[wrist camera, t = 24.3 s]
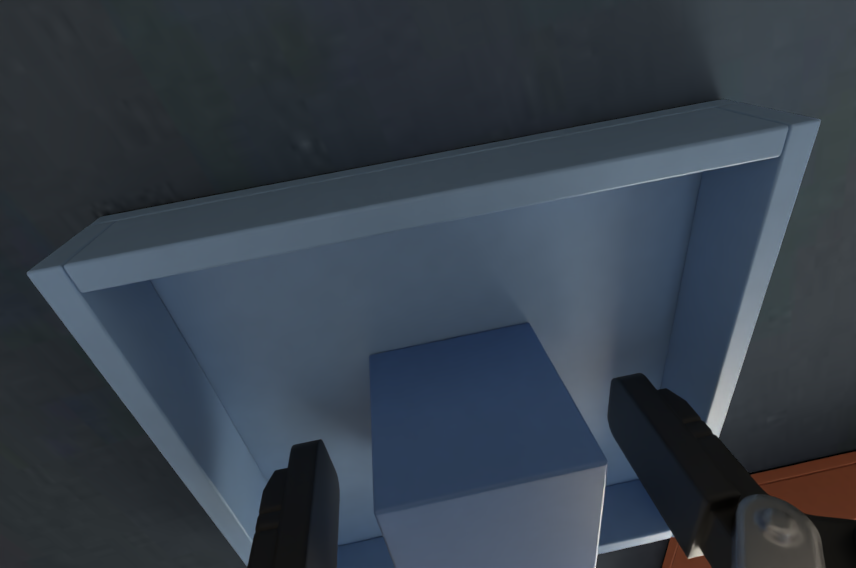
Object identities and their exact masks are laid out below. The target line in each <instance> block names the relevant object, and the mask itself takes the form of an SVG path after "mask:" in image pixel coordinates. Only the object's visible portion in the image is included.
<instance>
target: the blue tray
mask: <svg viewBox="0 0 856 568" xmlns="http://www.w3.org/2000/svg"><path fill="white" fill-rule="evenodd" d="M820 123H821V120H820V119H818V118H813V117H808V116H803V115H799V114H794V113H789V112H784V111H780V110H775V109H770V108H765V107H761V106H756V105H751V104H746V103H741V102H736V101H731V100H727V99H720V100H715V101H709V102H704V103H699V104H694V105H688V106H683V107H678V108H672V109H667V110H662V111H657V112H651V113H646V114H641V115H635V116H630V117H625V118H620V119H614V120H609V121H604V122H598V123H593V124H588V125H583V126H577V127H572V128H567V129H562V130H556V131H551V132H546V133H540V134H535V135H530V136H525V137H519V138H514V139H509V140H503V141H498V142H493V143H488V144H482V145H477V146H472V147H466V148H461V149H456V150H451V151H445V152H440V153H435V154H429V155H424V156H419V157H414V158H408V159H403V160H398V161H393V162H387V163H382V164H377V165H371V166H366V167H361V168H356V169H350V170H345V171H340V172H334V173H329V174H324V175H319V176H313V177H308V178H303V179H297V180H292V181H287V182H282V183H276V184H271V185H266V186H260V187H255V188H250V189H245V190H239V191H234V192H229V193H224V194H218V195H213V196H208V197H202V198H197V199H192V200H187V201H181V202H176V203H171V204H165V205H160V206H155V207H150V208H144V209H139V210H134V211H128V212H123V213H118V214H113V215H107V216H102V217H100V218H98V219H97V220H96V221H94V222H93V223H92V224H90V226H87V227H86V228H85V229H83V230H82V231H81V232H79V233H78V234H77V235H75V236H74V237H73V238H71V239H70V240H69V241H67V242H66V243H65V244H64V245H62V246H61V247H60V248H58V249H57V250H56V251H54V252H53V253H52V254H50V255H49V256H48V257H46V258H45V259H44V260H42V261H41V262H40V263H38V264H37V265H36V266H34V267H33V268H32V269H30V270H29V271H28V272H27V276H28V277H29V278H30V280H31V281H32V282H33V284H34V285H35V286H36V288H37V289H38V290H39V292H40V293H41V294H42V296H43V297H44V298H45V299H46V301H47V302H48V303H49V305H50V306H51V307H52V309H53V310H54V311H55V313H56V314H57V315H58V317H59V318H60V319H61V321H62V322H63V323H64V325H65V326H66V327H67V329H68V330H69V331H70V333H71V334H72V335H73V337H74V338H75V339H76V341H77V342H78V343H79V345H80V346H81V347H82V349H83V350H84V351H85V352H86V354H87V355H88V356H89V358H90V359H91V360H92V362H93V363H94V364H95V366H96V367H97V368H98V370H99V371H100V372H101V374H102V375H103V376H104V378H105V379H106V380H107V382H108V383H109V384H110V386H111V387H112V388H113V390H114V391H115V392H116V394H117V395H118V396H119V398H120V399H121V400H122V402H123V403H124V404H125V405H126V407H127V408H128V409H129V411H130V412H131V413H132V415H133V416H134V417H135V419H136V420H137V421H138V423H139V424H140V425H141V427H142V428H143V429H144V431H145V432H146V433H147V435H148V436H149V437H150V439H151V440H152V441H153V443H154V444H155V445H156V447H157V448H158V449H159V451H160V452H161V453H162V455H163V456H164V457H165V458H166V460H167V461H168V462H169V464H170V465H171V466H172V468H173V469H174V470H175V472H176V473H177V474H178V476H179V477H180V478H181V480H182V481H183V482H184V484H185V485H186V486H187V488H188V489H189V490H190V492H191V493H192V494H193V496H194V497H195V498H196V500H197V501H198V502H199V504H200V505H201V506H202V507H203V509H204V510H205V511H206V513H207V514H208V515H209V517H210V518H211V519H212V521H213V522H214V523H215V525H216V526H217V527H218V529H219V530H220V531H221V533H222V534H223V535H224V537H225V538H226V539H227V541H228V542H229V543H230V545H231V546H232V547H233V549H234V550H235V551H236V553H237V554H238V555H239V557H240V558H241V559H242V560H243V562H244V563H245V564H246V566H248V561H249V557H250V552H251V547H252V542H253V537H254V534H255V532H256V531H255V527H256V522H257V518H258V516H259V508H260V503H261V498H262V493H263V490H264V488H265V486H266V485H267V483H268V481H269V479H270V478H271V476H272V474H273V473H274V471H275V470H279V469H284V468H288V462H289V456H290V451H291V448H292V446H293V445H295V444H300V443H305V442H309V441H314V440H319V439H321V440H322V441H323V442H324V444H325V447H326V449H327V451H328V454H329V456H330V458H331V461H332V463H333V465H334V468H335V470H336V473H337V476H338V481H339V488H340V504H339V528H338V553H337V568H395V567H394V564H393V562H392V559H391V556H390V554H389V551H388V549H387V546H386V543H385V541H384V538H383V536H382V533H381V530H380V528H379V525H378V523H377V520H376V517H375V515H374V508H373V475H372V442H371V409H370V376H369V356H370V355H372V354H377V353H382V352H387V351H392V350H397V349H401V348H406V347H411V346H416V345H421V344H426V343H431V342H435V341H440V340H445V339H450V338H455V337H460V336H465V335H469V334H474V333H479V332H484V331H489V330H494V329H499V328H503V327H508V326H513V325H518V324H523V323H530V325H531V326H532V328H533V330H534V332H535V333H536V335H537V337H538V339H539V340H540V342H541V344H542V346H543V348H544V349H545V351H546V353H547V355H548V356H549V358H550V360H551V362H552V363H553V365H554V367H555V369H556V370H557V372H558V374H559V376H560V377H561V379H562V381H563V383H564V385H565V386H566V388H567V390H568V392H569V393H570V395H571V397H572V399H573V400H574V402H575V404H576V406H577V407H578V409H579V411H580V413H581V414H582V416H583V418H584V420H585V422H586V423H587V425H588V427H589V429H590V430H591V432H592V434H593V436H594V437H595V439H596V441H597V443H598V444H599V446H600V448H601V450H602V451H603V453H604V455H605V457H606V459H607V460H608V470H607V479H606V487H605V495H604V504H603V512H602V520H601V529H600V537H599V545H598V554H602V553H607V552H611V551H616V550H620V549H624V548H629V547H633V546H637V545H642V544H646V543H651V542H655V541H659V540H664V539H668V538H671V537H674V535H673V534H672V532H671V530H670V529H669V527H668V526H667V524H666V522H665V521H664V519H663V517H662V516H661V514H660V512H659V511H658V509H657V508H656V506H655V504H654V503H653V501H652V499H651V498H650V496H649V494H648V493H647V491H646V490H645V488H644V486H643V485H642V483H641V481H640V480H639V478H638V476H637V475H636V473H635V472H634V470H633V468H632V467H631V465H630V463H629V462H628V460H627V458H626V457H625V455H624V454H623V452H622V450H621V449H620V447H619V445H618V444H617V442H616V440H615V439H614V437H613V435H612V433H611V430H610V428H609V424H608V419H607V413H608V403H609V394H610V385H611V380H612V379H613V378H617V377H621V376H626V375H631V374H636V373H642V374H644V375H645V376H646V377H647V378H648V379H649V381H650V382H651V383H652V384H653V386H654V387H655V388H656V389H657V390H659V389H664V388H667V389H669V390H670V391H672V392H673V393H675V394H676V395H678V396H680V397H681V398H683V399H684V400H686V401H687V402H688V403H689V405H690V406H691V407H692V408H693V409H694V410H695V412H696V413H697V414H698V415H699V416H700V419H701V420H702V421H704V422H705V423H706V424H707V426H708V427H709V428H710V429H711V430H712V433H713V434H714V435H716V436H717V437H718V438H719V435H720V432H721V429H722V426H723V423H724V420H725V417H726V414H727V411H728V408H729V405H730V401H731V398H732V395H733V392H734V389H735V386H736V383H737V380H738V377H739V374H740V370H741V367H742V364H743V361H744V358H745V355H746V352H747V349H748V346H749V343H750V339H751V336H752V333H753V330H754V327H755V324H756V321H757V318H758V315H759V312H760V309H761V305H762V302H763V299H764V296H765V293H766V290H767V287H768V284H769V281H770V278H771V274H772V271H773V268H774V265H775V262H776V259H777V256H778V253H779V250H780V247H781V243H782V240H783V237H784V234H785V231H786V228H787V225H788V222H789V219H790V216H791V212H792V209H793V206H794V203H795V200H796V197H797V194H798V191H799V188H800V185H801V182H802V178H803V175H804V172H805V169H806V166H807V163H808V160H809V157H810V154H811V151H812V147H813V144H814V141H815V138H816V135H817V132H818V129H819V126H820ZM598 554H597V555H598Z"/></svg>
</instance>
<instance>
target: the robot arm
mask: <svg viewBox="0 0 856 568" xmlns="http://www.w3.org/2000/svg"><path fill="white" fill-rule="evenodd" d="M607 419H608V424H609V428H610V430H611V433H612V435H613V437H614V439H615V440H616V442H617V444H618V445H619V447H620V449H621V450H622V452H623V454H624V455H625V457H626V458H627V460H628V462H629V463H630V465H631V467H632V468H633V470H634V472H635V473H636V475H637V476H638V478H639V480H640V481H641V483H642V485H643V486H644V488H645V490H646V491H647V493H648V494H649V496H650V498H651V499H652V501H653V503H654V504H655V506H656V508H657V509H658V511H659V512H660V514H661V516H662V517H663V519H664V521H665V522H666V524H667V526H668V527H669V529H670V530H671V532H672V534H673V535H674V537H675V539H676V540H677V542H678V544H679V545H680V547H681V548H682V550H683V552H684V553H685V555H686V557H687V558H688V559H690V558H694V557H699V556H703V555H704V556H705V558H706V559H707V561H708V562H709V564H710V565H711V567H712V568H856V520H852V519H843V518H833V517H824V516H815V515H809V514H806V513H803V512H802V511H800V510H799V509H798V508H796V507H795V506H793V505H792V504H790V503H788V502H786V501H784V500H782V499H779V498H777V497H773V496H770V495H769V494H767V493H766V492H765V491H764V490H763V489H762V488H761V487H760V486H759V485H758V484H757V482H756V481H755V480H754V479H753V478H752V477H751V475H750V474H749V473H748V472H747V471H746V470H745V468H744V467H743V466H742V465H741V464H740V463H739V462H738V460H737V459H736V458H735V457H734V456H733V455H732V453H731V452H730V451H729V450H728V449H727V448H726V446H725V445H724V444H723V443H722V442H721V441H720V439H719V438H718V437H717V436H716V435H714V434H713V433H712V430H711V429H710V428H709V427H708V426H707V424H706V423H705V422H704V421H702V420H701V419H700V416H699V415H698V414H697V413H696V412H695V410H694V409H693V408H692V407H691V406H690V405H689V403H688V402H687V401H686V400H684V399H683V398H681V397H680V396H678V395H676V394H675V393H673V392H672V391H670V390H669V389H667V388H664V389H659V390H657V389H656V388H655V387H654V386H653V384H652V383H651V382H650V381H649V379H648V378H647V377H646V376H645V375H644V374H642V373H636V374H631V375H626V376H621V377H617V378H613V379H612V380H611V385H610V394H609V403H608V413H607ZM339 504H340V488H339V481H338V476H337V473H336V470H335V468H334V465H333V463H332V461H331V458H330V456H329V454H328V451H327V449H326V447H325V444H324V442H323V441H322V440H321V439H319V440H314V441H309V442H305V443H300V444H295V445H293V446H292V448H291V451H290V456H289V462H288V468H284V469H279V470H275V471H274V473H273V474H272V476H271V478H270V479H269V481H268V483H267V485H266V486H265V488H264V490H263V493H262V498H261V503H260V508H259V516H258V518H257V522H256V527H255V531H256V532H255V534H254V537H253V542H252V547H251V552H250V557H249V561H248V566H247V568H337V553H338V528H339Z"/></svg>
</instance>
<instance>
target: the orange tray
mask: <svg viewBox="0 0 856 568" xmlns="http://www.w3.org/2000/svg"><path fill="white" fill-rule="evenodd" d="M751 477H752V478H753V479H754V480H755V481H756V482H757V484H758V485H759V486H760V487H761V488H762V489H763V490H764V491H765V492H766V493H767V494H769V495H770V496H773V497H777V498H779V499H782V500H784V501H786V502H788V503H790V504H792V505H793V506H795V507H796V508H798V509H799V510H800V511H802V512H803V513H806V514H809V515H815V516H824V517H833V518H843V519H852V520H856V451H854V452H849V453H845V454H840V455H836V456H831V457H827V458H823V459H818V460H814V461H809V462H805V463H800V464H796V465H791V466H787V467H782V468H778V469H774V470H769V471H765V472H760V473H756V474H751ZM662 568H712V567H711V565H710V564H709V562H708V561H707V559H706V558H705V556H704V555H703V556H699V557H694V558H690V559H688V558H687V557H686V555H685V553H684V552H683V550H682V548H681V547H680V545H679V544H678V542H677V540H676V539H675V537H671V538H670V541H669V544H668V548H667V551H666V555H665V558H664V562H663V565H662Z"/></svg>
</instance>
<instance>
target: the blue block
mask: <svg viewBox="0 0 856 568" xmlns="http://www.w3.org/2000/svg"><path fill="white" fill-rule="evenodd" d="M369 376H370V409H371V442H372V475H373V508H374V515H375V517H376V520H377V523H378V525H379V528H380V530H381V533H382V536H383V538H384V541H385V543H386V546H387V549H388V551H389V554H390V556H391V559H392V562H393V564H394V567H395V568H596V562H597V554H598V545H599V537H600V529H601V520H602V512H603V504H604V495H605V487H606V479H607V470H608V460H607V459H606V457H605V455H604V453H603V451H602V450H601V448H600V446H599V444H598V443H597V441H596V439H595V437H594V436H593V434H592V432H591V430H590V429H589V427H588V425H587V423H586V422H585V420H584V418H583V416H582V414H581V413H580V411H579V409H578V407H577V406H576V404H575V402H574V400H573V399H572V397H571V395H570V393H569V392H568V390H567V388H566V386H565V385H564V383H563V381H562V379H561V377H560V376H559V374H558V372H557V370H556V369H555V367H554V365H553V363H552V362H551V360H550V358H549V356H548V355H547V353H546V351H545V349H544V348H543V346H542V344H541V342H540V340H539V339H538V337H537V335H536V333H535V332H534V330H533V328H532V326H531V325H530V323H523V324H518V325H513V326H508V327H503V328H499V329H494V330H489V331H484V332H479V333H474V334H469V335H465V336H460V337H455V338H450V339H445V340H440V341H435V342H431V343H426V344H421V345H416V346H411V347H406V348H401V349H397V350H392V351H387V352H382V353H377V354H372V355H370V356H369Z"/></svg>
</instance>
